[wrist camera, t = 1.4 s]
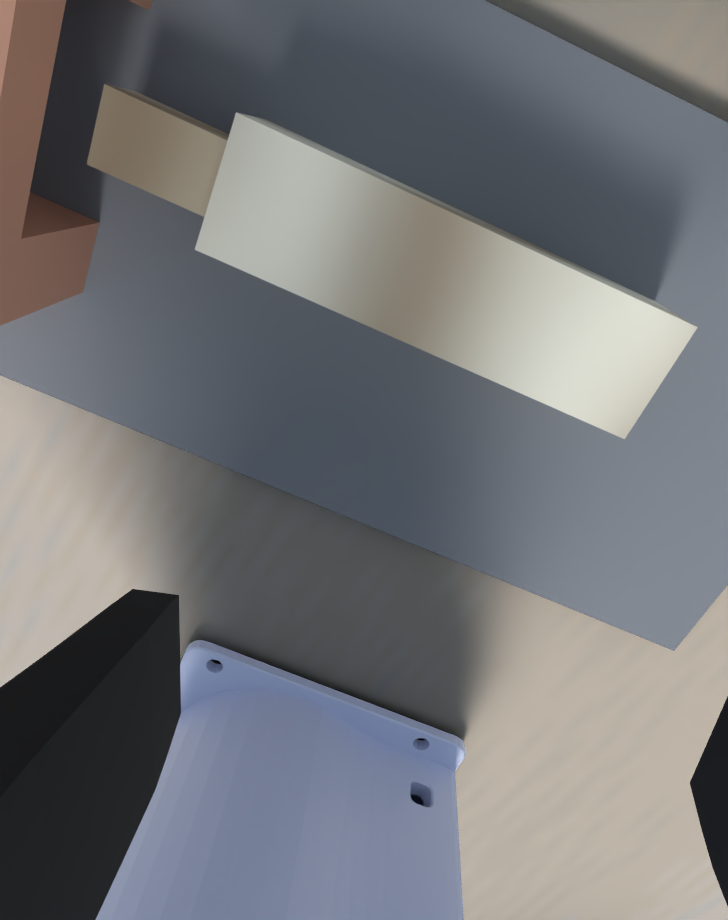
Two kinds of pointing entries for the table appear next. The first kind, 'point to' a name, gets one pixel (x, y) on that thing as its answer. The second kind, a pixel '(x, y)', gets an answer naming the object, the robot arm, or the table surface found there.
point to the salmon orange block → (12, 165)
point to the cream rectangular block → (397, 259)
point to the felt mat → (382, 356)
